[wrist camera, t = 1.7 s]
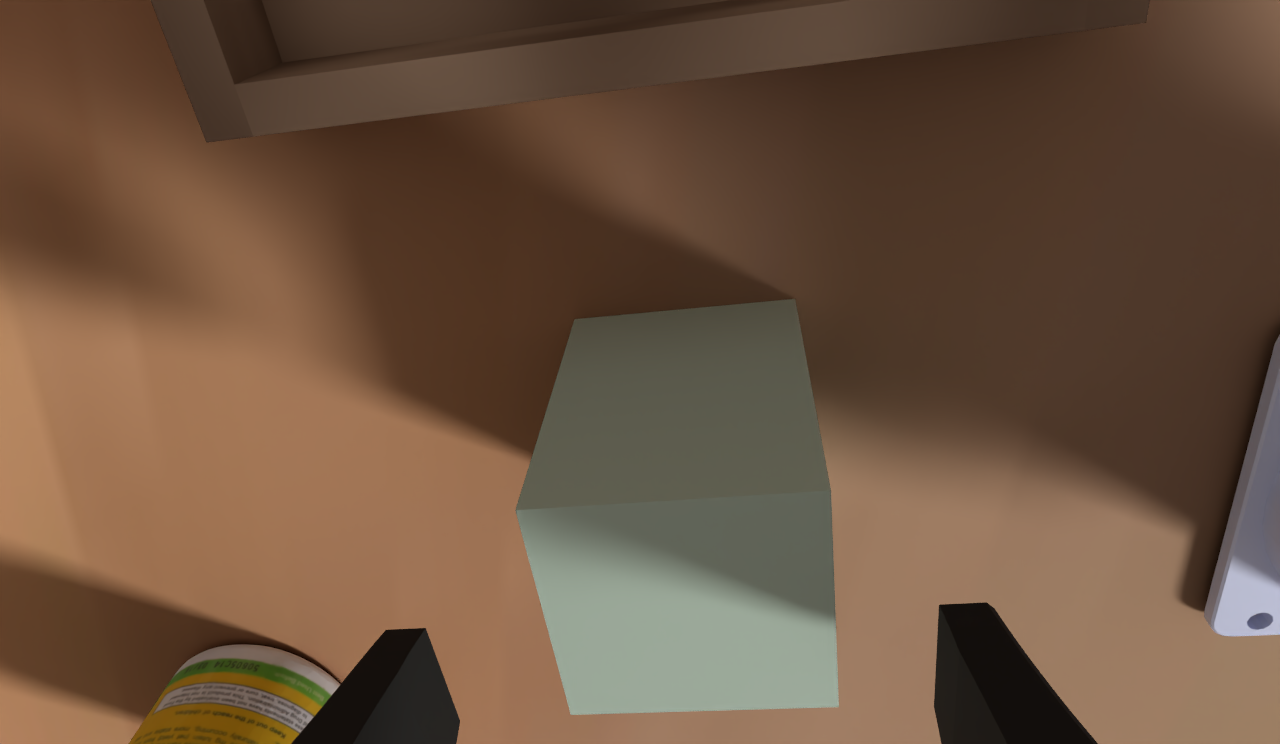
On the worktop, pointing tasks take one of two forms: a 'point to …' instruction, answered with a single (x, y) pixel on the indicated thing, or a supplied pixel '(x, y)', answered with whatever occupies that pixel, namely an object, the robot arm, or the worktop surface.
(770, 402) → the sage block
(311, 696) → the supplement bottle
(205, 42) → the tray
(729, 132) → the worktop surface
